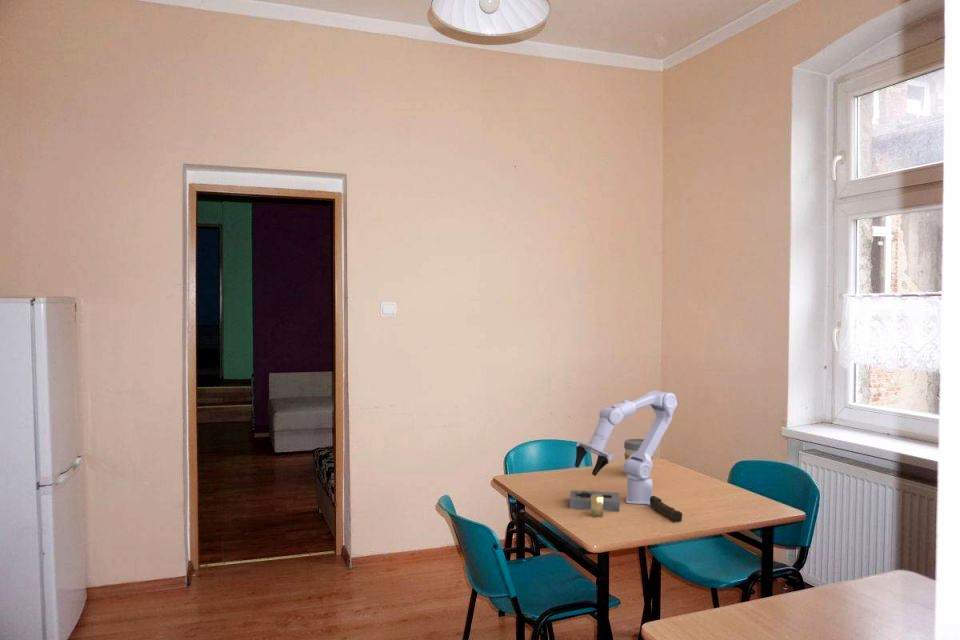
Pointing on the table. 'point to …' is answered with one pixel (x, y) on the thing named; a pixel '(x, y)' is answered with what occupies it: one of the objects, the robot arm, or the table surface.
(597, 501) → the brass fitting
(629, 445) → the reusable coffee cup
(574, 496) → the grey flat block
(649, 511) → the table surface
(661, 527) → the table surface
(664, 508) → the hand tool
